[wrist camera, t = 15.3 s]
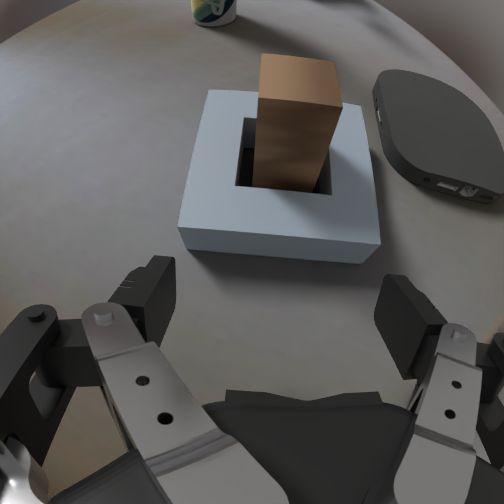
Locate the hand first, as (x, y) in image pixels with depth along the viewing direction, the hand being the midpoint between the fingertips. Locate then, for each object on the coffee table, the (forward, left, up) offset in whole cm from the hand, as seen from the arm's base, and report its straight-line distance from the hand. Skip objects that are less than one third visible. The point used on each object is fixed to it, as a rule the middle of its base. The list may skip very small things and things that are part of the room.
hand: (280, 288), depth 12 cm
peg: (-8, +7, -9) cm, 13 cm away
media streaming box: (-4, +25, -9) cm, 27 cm away
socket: (-8, +7, -9) cm, 14 cm away
